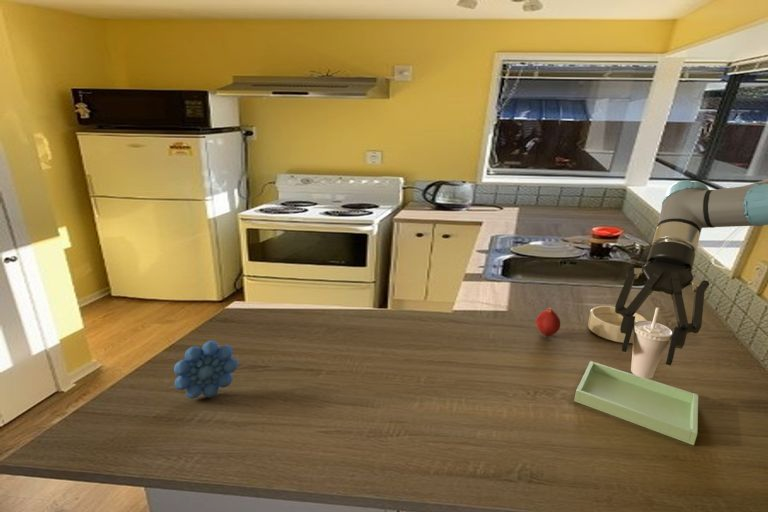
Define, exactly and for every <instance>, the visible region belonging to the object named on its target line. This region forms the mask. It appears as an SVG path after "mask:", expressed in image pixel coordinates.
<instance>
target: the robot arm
mask: <svg viewBox="0 0 768 512" xmlns="http://www.w3.org/2000/svg"><path fill="white" fill-rule="evenodd" d="M764 226H768V178H766V179H763V180H760V181H756V182H754V183H750V184H747V185H746V184H745V185H741V186H735V187H734V186H733V187H726V188H718V189H709V187H708V186H707V185H706V184H705V183H703V182H700V181H699V180H696V181H691V180H690V179H689V180H688V179H686V180H680V181H677V182H675V183H673V184H671V185H670V186H669V187H668V188H667V190H666V194H665V196H664V199H663V200H662V203H661V209H660V213H659V217H658V221H657V225H656V228H655V231H654V235H653V237H652V242H651V247H650V248H649V249H650V250H649V252H648V257H647V260H646V263H645V265H643V266H642V267H634V266H632V265H628V266H627V268H626V279H625V282H624V283H623V286H622V288H621V291H620V293H619V295H618V298H617V300H616V303H615V306H614V307H615V312H616V313H617V314H620V315H622V316H623V320H622V324H621V327H620V331H621V333H624V334H626V335H625V339H624V342H623V343H622V347H621V352H622V353H627V351H628V347H629V344H630V343H629V340H630V337H631V333H632V329H633V325H634V322H635V316H633V315H634V314H635V313H637V311H638V310H639V309H640V307H641V306H642V305H643V304H644V302H645V301H646V300H647V299H648V297H649V296H650V295H652V293H653V292H659V293H660V292H661V293H664V294H667V295H670V297H671V300H672V303H673V309H674V313H675V319H676V323H677V326H674V328H673V330H672V332H673V335H672V339H671V340H670V343H669V349H668V353H667V355H666V356H667V357H666V361H665V365H667V366H671V365H672V363H673V360H674V356H675V352H676V349H680V350H682V349H683V348H684V346H685V343H686V338H687V334H689V333H693V334H698V333H699V332H700V330H701V328H702V323H703V313H704V302H705V294H706V292H707V291H708V288H709V286H710V281H709V280H707V279H706V280H699V279H696V278H694V275H693V267H694V262H695V260H696V259H695V258H696V252H697V249H698V245H699V241H700V236H701V233H702V229H709V228H710V229H712V228H713V229H714V228H729V227H730V228H731V227H764ZM639 276H642V277H643V279H644V280H645V284H644V286H643V287H642V288H641V290H640V291H639V292H638V293H637V294H636V296H635V297H634V299H633V300H632V301H631V302H630V303H629V305H628V306H627V307H625V306H626V303H627V300H628V298H629V296H630V293H631V291H632V288H633V286H634V281H636V280H638V279H639ZM688 286H692V289H691V290H692V291H693V293H695V294H694V296H693V304H692V305H693V306H692V315H691V316H692V317H691V323H689V322H688V321H689V320H688V317H687V316H688V315H687V312H686V311H687V310H686V307H685V303H684V297H683V290H684V289H685V288H687V287H688Z"/></svg>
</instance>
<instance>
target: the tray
mask: <svg viewBox="0 0 768 512" xmlns="http://www.w3.org/2000/svg"><path fill="white" fill-rule="evenodd" d="M574 394H575V395H574V399H573V402H575V403H578V404H581V405H583V406H586V407H588V408H591V409H593V410H597V411H600V412H601V413H605V414H608V415H610V416H613V417H616V418H618V419H622V420H623V421H627V422H630V423H632V424H635V425H637V426H640V427H643V428H646V429H648V430H651V431H654V432H656V433H658V434H662V435H664V436H667V437H669V438H673V439H676V440H678V441H681V442H683V443H686V444H689V445H691V446H695V444H696V440H697V437H698V430H699V429H698V428H699V427H698V426H699V394H698V393H693V392H691V391H688V390H685V389H681V388H678V387H675V386H672V385H669V384H665V383H662V382H660V381H656V380H654V379H651V378H649V379H647V378H641V377H638V376H636V375H635V374H633V373H632V372H627V371H624V370H621V369H618V368H615V367H611V366H609V365H604V364H602V363H599V362H595V361H592V360H590V361H589V362H588V365H587V367H586V370H585V371H584V374H583V376H582V378H581V380H580V382H579V384H578V385H577V387H576V390H575V393H574Z"/></svg>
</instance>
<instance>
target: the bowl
mask: <svg viewBox="0 0 768 512" xmlns="http://www.w3.org/2000/svg"><path fill="white" fill-rule="evenodd" d="M588 316H589V317H588V321H587V327H588V329H589V330H590V331H591V332H592V333H594V334H595V335H597V336H598V337H601V338H603V339H606V340H609V341H613V342H616V343H620V344H621V343H622V344H623V342H624V339H625V335H626V334H624V333H621V331H620V327H621V324H622V320H623V316H622V315H620V314H617V313H616V312H615V306H613V305H599V306H594V307H592V308H591V309H590V312H589V315H588ZM633 316H635V322H637V321H648V320H647V319H646V318H645V317H644V316H642V315H641V314H639V313H637V312H636V313H635V314H634V315H633ZM635 322H634V323H635ZM633 337H634V331H633V329H632V333H631V337H630V340H629V344H633Z"/></svg>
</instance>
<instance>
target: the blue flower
mask: <svg viewBox="0 0 768 512" xmlns="http://www.w3.org/2000/svg"><path fill="white" fill-rule="evenodd" d="M233 353H234V349H233V347H232V346H231V345H228V344H225V345H221V346H219V343H218V342H217V341H216V340H208V341H206V342H205V343H204V344H203V345H202V347H201V348H200V347H199V346H198V345H194V346H191V347H189V348H188V349H186V351H185V353H184V358H183V359H181V360H178V361H177V362H176V363H175V364H174V366H173V372H174V374H175V375H176V376H177V377H176V378H175V380H174V388H175V389H176V390H179V391H184V390H185V396H186V397H187V398H188V399H193V400H194V399H197V398H198V397H200V396H201V394H202V395H203V396H204V397H205V398H213V397H215V396H217V393H218V392H219V390H220V388H227V387H229V386H230V385H231V384H232V382H233V379H234V377H233V376H234V375H233V373H234V372H236V370H237V369H238V368H239V360H238V359H237V358H235V357H232V356H233Z"/></svg>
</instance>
